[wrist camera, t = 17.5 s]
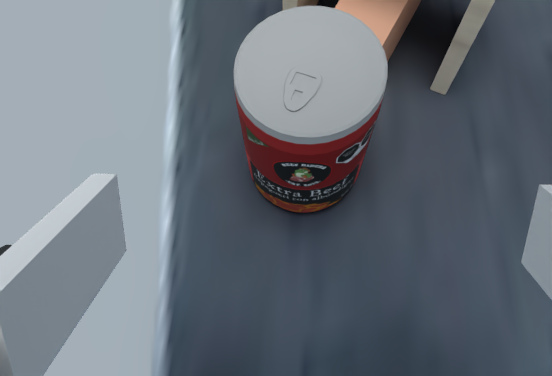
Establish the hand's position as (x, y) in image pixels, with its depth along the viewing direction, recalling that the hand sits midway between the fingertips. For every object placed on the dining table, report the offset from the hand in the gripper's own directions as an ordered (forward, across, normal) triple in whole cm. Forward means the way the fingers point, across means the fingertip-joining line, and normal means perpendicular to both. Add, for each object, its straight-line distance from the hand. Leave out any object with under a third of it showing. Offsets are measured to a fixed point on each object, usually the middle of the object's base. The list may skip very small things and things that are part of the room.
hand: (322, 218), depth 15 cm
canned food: (+18, 0, +5) cm, 19 cm away
